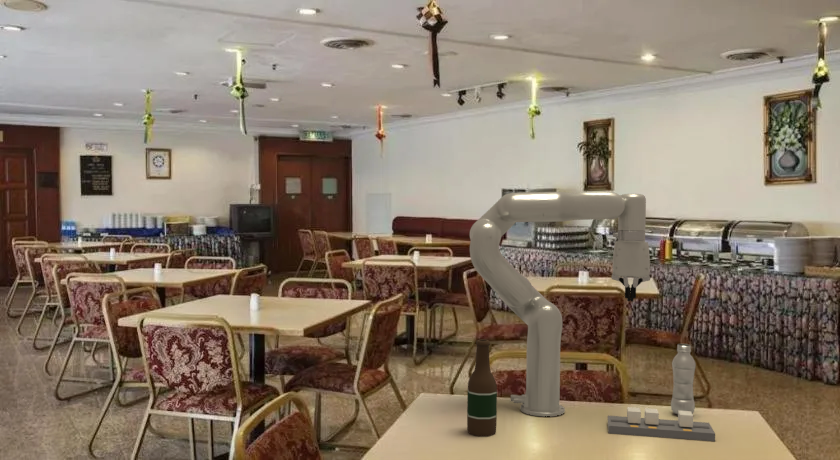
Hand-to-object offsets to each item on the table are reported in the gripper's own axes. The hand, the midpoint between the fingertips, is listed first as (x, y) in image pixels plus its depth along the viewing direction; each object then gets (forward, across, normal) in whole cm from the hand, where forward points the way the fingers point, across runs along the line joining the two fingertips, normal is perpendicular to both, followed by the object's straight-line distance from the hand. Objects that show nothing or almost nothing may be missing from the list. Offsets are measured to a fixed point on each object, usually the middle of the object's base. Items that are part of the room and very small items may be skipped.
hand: (630, 300), depth 212 cm
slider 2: (+30, +5, -18) cm, 35 cm away
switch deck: (+32, +7, -18) cm, 37 cm away
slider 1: (+30, +1, -18) cm, 35 cm away
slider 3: (+30, +14, -18) cm, 37 cm away
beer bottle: (+32, -38, -31) cm, 59 cm away
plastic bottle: (+32, +15, +1) cm, 36 cm away
